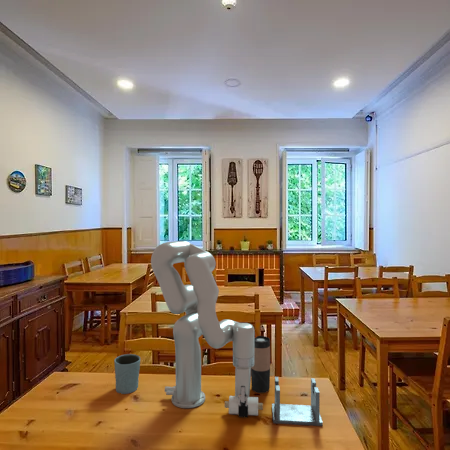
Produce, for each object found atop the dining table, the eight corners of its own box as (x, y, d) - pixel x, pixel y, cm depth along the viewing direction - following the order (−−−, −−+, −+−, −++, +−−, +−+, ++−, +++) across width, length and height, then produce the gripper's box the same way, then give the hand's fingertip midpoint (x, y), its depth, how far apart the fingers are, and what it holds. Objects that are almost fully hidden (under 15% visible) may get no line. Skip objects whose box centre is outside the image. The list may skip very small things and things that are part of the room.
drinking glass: (121, 381, 141) (121, 353, 141) (144, 383, 140) (144, 354, 140) (109, 394, 131) (109, 363, 131) (134, 396, 130) (134, 364, 130)
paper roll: (224, 417, 116) (224, 400, 116) (225, 408, 121) (225, 392, 121) (262, 419, 115) (262, 402, 115) (262, 410, 120) (262, 394, 120)
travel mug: (269, 394, 131) (269, 342, 131) (249, 392, 132) (249, 341, 132) (270, 385, 138) (270, 336, 138) (252, 383, 140) (252, 335, 140)
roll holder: (273, 423, 112) (273, 390, 112) (271, 406, 122) (271, 376, 122) (322, 426, 111) (322, 392, 110) (317, 409, 121) (317, 378, 120)
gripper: (234, 350, 127) (234, 398, 127) (230, 370, 110) (230, 425, 110) (254, 351, 126) (254, 399, 126) (254, 371, 109) (254, 427, 109)
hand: (243, 411), depth 118 cm, fingers closed on paper roll, 5 cm apart
